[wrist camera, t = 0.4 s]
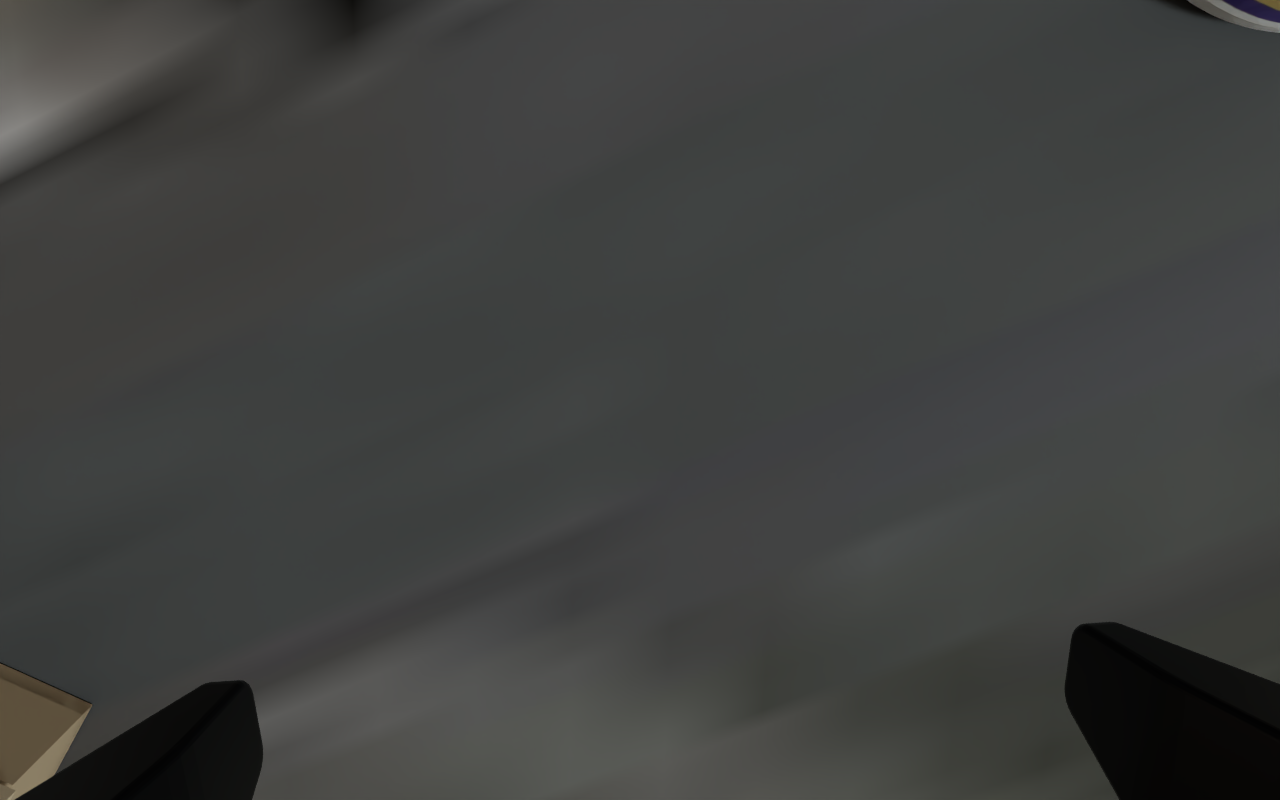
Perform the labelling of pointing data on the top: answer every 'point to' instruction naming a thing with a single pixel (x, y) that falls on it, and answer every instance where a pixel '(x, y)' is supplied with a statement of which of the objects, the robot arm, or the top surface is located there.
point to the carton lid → (6, 792)
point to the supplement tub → (1245, 12)
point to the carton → (34, 729)
